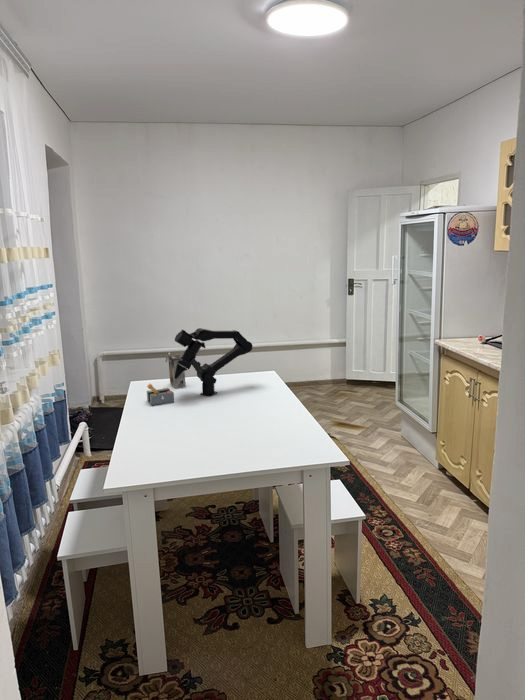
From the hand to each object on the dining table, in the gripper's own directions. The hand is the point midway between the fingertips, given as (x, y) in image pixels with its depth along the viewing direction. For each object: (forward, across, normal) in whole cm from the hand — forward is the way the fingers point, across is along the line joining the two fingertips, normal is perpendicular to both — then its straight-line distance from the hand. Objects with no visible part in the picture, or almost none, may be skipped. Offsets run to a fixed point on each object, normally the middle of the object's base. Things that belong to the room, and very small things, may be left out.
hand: (175, 378), depth 258 cm
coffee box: (+4, +26, -4) cm, 27 cm away
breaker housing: (+13, +1, 0) cm, 13 cm away
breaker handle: (+11, 0, +2) cm, 11 cm away
